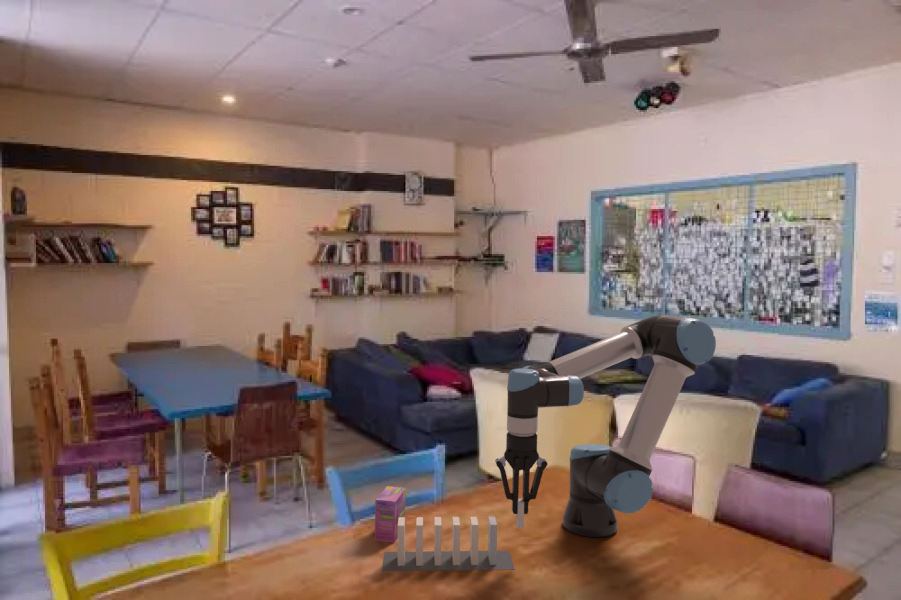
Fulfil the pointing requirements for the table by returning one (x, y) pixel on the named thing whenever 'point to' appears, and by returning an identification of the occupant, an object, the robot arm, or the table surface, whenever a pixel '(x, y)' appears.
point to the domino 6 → (492, 540)
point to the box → (389, 513)
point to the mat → (447, 561)
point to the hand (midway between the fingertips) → (519, 526)
